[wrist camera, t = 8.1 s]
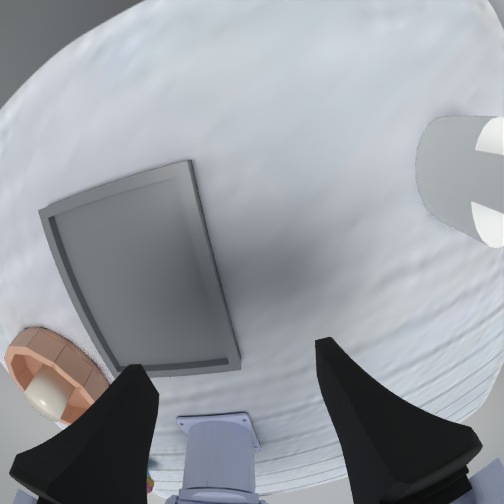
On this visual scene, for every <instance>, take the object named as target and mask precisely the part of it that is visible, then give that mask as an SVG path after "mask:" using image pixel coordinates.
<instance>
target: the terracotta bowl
mask: <svg viewBox="0 0 504 504" xmlns="http://www.w3.org/2000/svg"><path fill="white" fill-rule="evenodd" d="M4 359H5V362H6V365H7V367H8V370H9V373H10V375H11V377H12V379H13V380H14V381H15V383H16V384H17V385H18V387H19V388H20V389H21V390H22V392H23V393H24V392H25V390H26V389H27V387H28V386H29V384H30V383H31V381H32V379H33V378H34V376H35V375H36V373H37V372H38V370H39V369H40V367H41V366H42V364H43V363H44V364H46V365H48V366H50V367H52V368H53V369H55V370H56V371H57V372H58V373H59V374H60V375H61V376H63V377H64V378H65V379H66V380H67V381H69V382H70V383H71V384H72V385H74V386H75V390H74V392H73V393H72V395H71V397H70V399H69V401H68V403H67V405H66V408H65V410H64V412H63V414H62V416H61V418H60V420H59V421H60V422H62V423H64V424H66V425H68V426H69V425H71V424H72V423H73V422H74V421H75V420H77V419H78V418H79V417H80V416H81V415H82V414H83V413H84V412H85V411H86V410H87V409H88V408H89V407H90V406H91V405H92V404H93V403H94V402H95V401H96V400H97V399H98V398H99V397H100V396H101V395H102V394H103V393H104V392H105V390H106V389H107V388H108V387H109V386H110V385H109V383H108V381H107V379H106V378H105V376H104V374H103V373H102V372H101V370H100V369H99V368H98V367H97V365H96V364H95V363H94V362H93V361H92V360H91V359H90V358H89V357H88V356H87V355H86V354H85V353H84V352H83V351H81V350H80V349H79V348H78V347H77V346H75V345H74V344H73V343H71V342H70V341H68V340H67V339H65V338H64V337H62V336H60V335H59V334H57V333H55V332H53V331H50V330H48V329H45V328H41V327H29V328H27V329H25V330H24V331H21V332H20V333H19V334H18V336H17V337H16V338H15V339H14V340H13V341H12V343H11V344H10V345H9V346H8V349H7V351H6V354H5V357H4Z"/></svg>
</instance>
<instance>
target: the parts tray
mask: <svg viewBox="0 0 504 504" xmlns="http://www.w3.org/2000/svg"><path fill="white" fill-rule="evenodd" d="M38 211H39V215H40V218H41V222H42V225H43V228H44V232H45V235H46V238H47V241H48V244H49V247H50V250H51V252H52V255H53V258H54V261H55V263H56V266H57V268H58V271H59V273H60V276H61V278H62V281H63V283H64V285H65V288H66V290H67V292H68V294H69V297H70V299H71V301H72V303H73V305H74V307H75V309H76V311H77V313H78V315H79V317H80V319H81V321H82V323H83V325H84V327H85V329H86V331H87V333H88V335H89V336H90V338H91V340H92V342H93V344H94V345H95V347H96V349H97V350H98V352H99V354H100V356H101V357H102V359H103V361H104V362H105V364H106V365H107V367H108V369H109V370H110V372H111V373H112V375H113V376H114V378H117V377H118V376H119V375H120V374H121V372H122V371H123V370H124V369H125V368H126V367H127V366H128V365H129V364H142V366H143V368H144V370H145V371H146V373H147V375H148V377H149V378H152V377H172V376H187V375H199V374H209V373H218V372H226V371H234V370H241V356H240V353H239V349H238V346H237V342H236V339H235V335H234V332H233V328H232V325H231V321H230V317H229V314H228V310H227V306H226V303H225V299H224V295H223V291H222V288H221V284H220V280H219V276H218V272H217V268H216V264H215V260H214V256H213V252H212V248H211V244H210V240H209V236H208V232H207V228H206V224H205V219H204V215H203V211H202V206H201V202H200V198H199V193H198V189H197V184H196V179H195V175H194V170H193V165H192V161H191V160H188V161H184V162H180V163H176V164H172V165H168V166H164V167H160V168H157V169H153V170H150V171H146V172H143V173H139V174H136V175H133V176H130V177H126V178H123V179H120V180H117V181H114V182H111V183H108V184H105V185H102V186H99V187H96V188H93V189H91V190H88V191H85V192H82V193H80V194H77V195H74V196H72V197H69V198H67V199H64V200H62V201H59V202H57V203H54V204H52V205H50V206H47V207H45V208H43V209H40V210H38Z"/></svg>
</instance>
